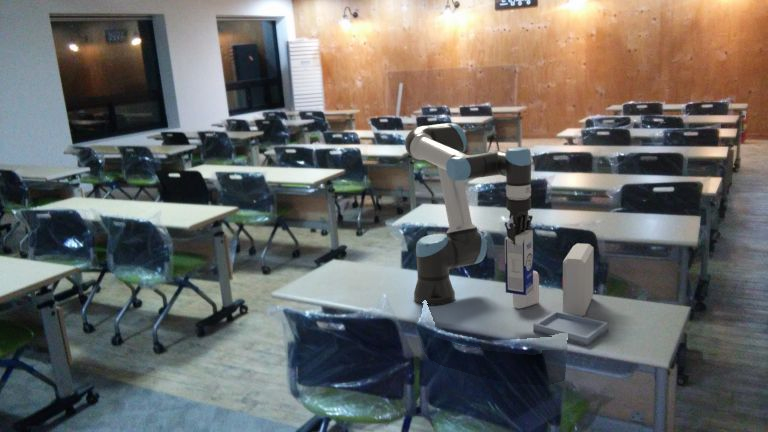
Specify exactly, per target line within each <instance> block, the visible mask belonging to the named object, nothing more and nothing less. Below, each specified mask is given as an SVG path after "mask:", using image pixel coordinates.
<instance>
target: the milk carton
mask: <svg viewBox="0 0 768 432" xmlns="http://www.w3.org/2000/svg"><path fill="white" fill-rule="evenodd" d="M533 233H534V231H533V229H530V230H526V231H525V232H521V234H519V235H516V236H515V245H514V244H513V243H512V242H513V241H512V240H511V239H509V238H508V236H506V237H505V238H504V267H505V271H504V276H505V293H509V294H512V295H513V294H519V295H527V294H528V293H529V292H530V291H531V290H532V289H533V271H534V246H533V245H534V239H533V238H534V235H533Z"/></svg>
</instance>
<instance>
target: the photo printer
mask: <svg viewBox="0 0 768 432" xmlns="http://www.w3.org/2000/svg"><path fill="white" fill-rule="evenodd" d="M539 301H540V275H539V273H538V272H537V271H536V270H533V289H532V290H531V291H530V292H529V293H528V294H527V295H519V294H513V293H512V306H513V307H514V308H515V309H524V308H526V307H527V308H528V307H530V306H533V305H537V304H539Z"/></svg>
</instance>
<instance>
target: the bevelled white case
mask: <svg viewBox="0 0 768 432" xmlns="http://www.w3.org/2000/svg"><path fill="white" fill-rule="evenodd" d="M594 249H595V248H594V246H592V245H591V244H590V243H576V244H574V245H573V246H572V248H571V249H570V250H569V251H568V253H567V255H566V256H565V258H564V260H563V261H562V279H561V288H562V312H563V313H567V314H572V315H576V316H580V317H584V316H585V315H586V314H587V313H586V312H587V310H588V308H589V306H590V303H591V301H592V299H593V297H594V256H595V255H594V253H595V252H594V251H595V250H594Z"/></svg>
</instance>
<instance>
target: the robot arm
mask: <svg viewBox="0 0 768 432" xmlns="http://www.w3.org/2000/svg"><path fill="white" fill-rule="evenodd" d="M467 144H468V143H467V136H466V133H465V131H464V129H463V128H462V127H461V126H460V125H459V124H458V123H448V122H447V123H446V122H445V123H440V124H439V123H437V124H432V125H431V124H430V125H420V126H417V127H414V128H413V129H412V130H411V131H410V132H409V133H408V134H407V135H406V138H405V141H404V147H405V150H406V152H407V154H408V155H409V156H411V157H412V158H414V159H415V160H418V161H426V162H428V163H430V164H433V165H434V166H437V170H438V175H439V181H440V185H441V191H442V196H443V202H444V206H445V211H446V217H447V222H448V229H447V231H446V234H443V233H437V234H435V233H434V234H429V235H426V236H422V237H420V239H418V241H417V242H416V246H415V247H416V248H415V255H416V267H417V268H416V271H417V281H416V284H415V289H414V292H413V300H414V302H416V303H417V302H418V303H417V304H420V303H422V302H423V301H424V300H426V301H427V303H428V304H429V305H428V306H440V305H445V304H449V303H451V302H453V301H454V300H455V298H456V292H455V289H454V287H453V284H452V281H451V278H450V270H451V269H455V268H461V267H466V266H473V265H476V264H479V263H481V262H482V261H483V260H484V259H485V257H486V255H487V248H488V246H487V244H488V243H487V239H486V237H485V235H484V234H483V233H482V232H481V231H478V227H477V226H476V225H475V224H473V223H472V217H471V211H470V206H469V205H470V204H469V202H468V200H469V199H468V196H467V192H466V185H465V180H471V179H479V178H486V177H487V178H488V177H495V176H502V177H503V176H504V177H505V178H506V179H505V181H506V185H505V186H506V189H505V190H506V191H505V193H506V197H507V198H506V210H508V211H509V217H508V218H509V220H508V221H507V222H504V227H505V229H506V235H507V236H506V237H508V238H509V239H511V240H512V241H513V242H512V243H513V244H514V245H515V236H516V235H519V234H521V232H525V231H526V230H531V226H532V225H531V224H532V221H533V218H534V217H533V215H531V214H529V211H530V210H532V199H531V195H532V188H531V184H532V155H531V154H532V153H531V150H530V148H528V147H522V146H519V147H518V146H517V147H516V146H515V147H510V148H507V149H506V151H503V150H498V149H496V150H489V151H488V152H485V153H477V154H476V153H475V154H466V153H464V152H465V151H466V149H467Z"/></svg>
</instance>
